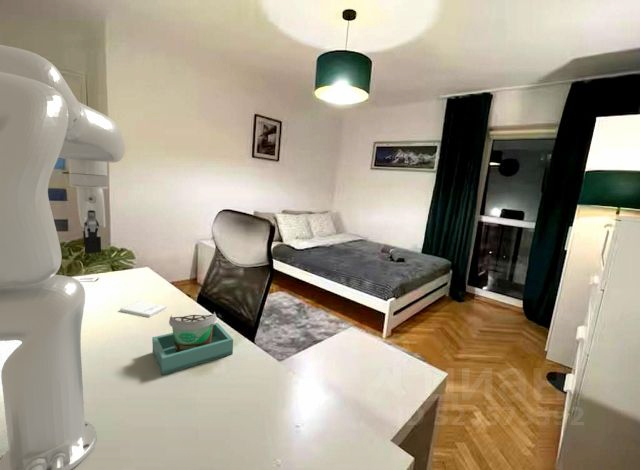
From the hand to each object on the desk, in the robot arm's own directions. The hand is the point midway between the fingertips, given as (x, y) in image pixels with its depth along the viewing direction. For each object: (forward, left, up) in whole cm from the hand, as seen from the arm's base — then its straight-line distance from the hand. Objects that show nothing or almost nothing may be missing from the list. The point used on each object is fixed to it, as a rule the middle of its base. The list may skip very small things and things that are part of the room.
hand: (92, 248), depth 78 cm
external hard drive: (+22, -15, -29) cm, 40 cm away
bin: (-15, -21, -28) cm, 38 cm away
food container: (-16, -20, -28) cm, 38 cm away
